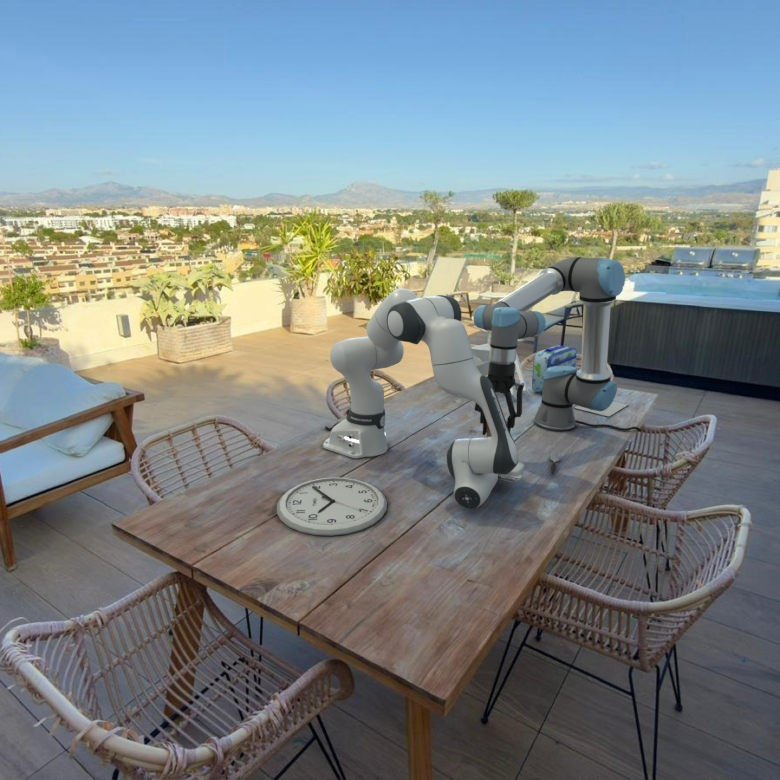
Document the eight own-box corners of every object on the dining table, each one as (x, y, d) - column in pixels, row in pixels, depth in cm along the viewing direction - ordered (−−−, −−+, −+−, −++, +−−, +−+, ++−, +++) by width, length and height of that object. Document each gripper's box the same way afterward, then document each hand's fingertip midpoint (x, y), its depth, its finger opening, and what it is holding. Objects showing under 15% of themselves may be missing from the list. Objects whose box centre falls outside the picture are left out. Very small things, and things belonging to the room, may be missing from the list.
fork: (547, 475, 162) (548, 469, 162) (551, 455, 176) (551, 449, 176) (556, 476, 161) (557, 470, 161) (559, 456, 176) (560, 451, 175)
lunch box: (548, 398, 236) (553, 353, 229) (527, 393, 243) (531, 349, 237) (575, 387, 253) (581, 344, 247) (555, 382, 260) (560, 341, 254)
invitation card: (608, 416, 214) (573, 407, 224) (608, 416, 214) (573, 408, 224) (628, 404, 229) (594, 396, 238) (628, 405, 229) (594, 397, 238)
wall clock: (392, 527, 129) (268, 531, 127) (391, 533, 130) (269, 537, 127) (383, 473, 158) (282, 475, 155) (383, 478, 158) (282, 480, 156)
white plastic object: (461, 429, 252) (437, 405, 227) (444, 352, 274) (420, 323, 250) (535, 404, 240) (518, 377, 215) (510, 326, 262) (492, 293, 237)
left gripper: (520, 471, 144) (530, 452, 156) (450, 457, 152) (464, 440, 164) (518, 491, 146) (527, 471, 158) (448, 476, 154) (462, 458, 166)
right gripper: (538, 362, 151) (530, 436, 158) (472, 355, 158) (468, 426, 165) (534, 368, 145) (526, 445, 152) (466, 360, 152) (461, 434, 159)
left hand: (494, 455), depth 161 cm, fingers closed on jar, 5 cm apart
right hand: (496, 435), depth 158 cm, fingers closed on lid, 6 cm apart
